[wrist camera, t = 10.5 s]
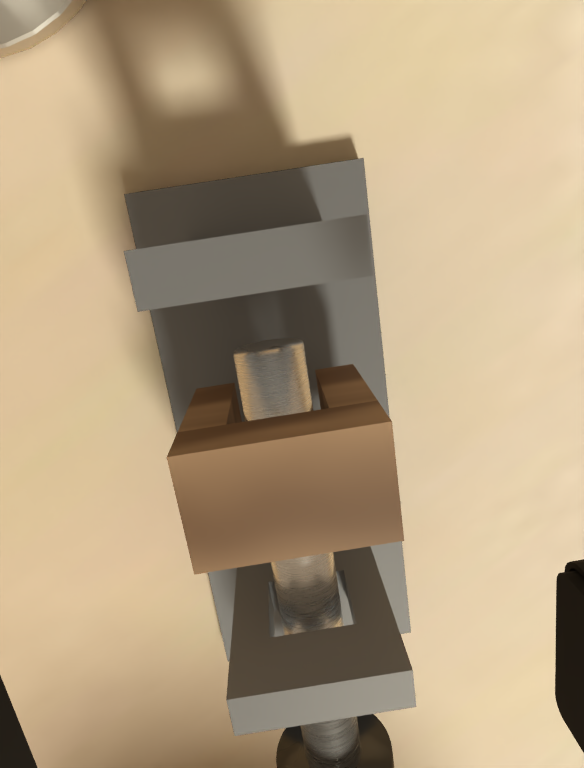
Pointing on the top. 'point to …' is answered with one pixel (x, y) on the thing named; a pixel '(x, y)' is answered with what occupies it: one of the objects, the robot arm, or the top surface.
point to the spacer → (285, 476)
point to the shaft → (305, 570)
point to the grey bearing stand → (322, 350)
